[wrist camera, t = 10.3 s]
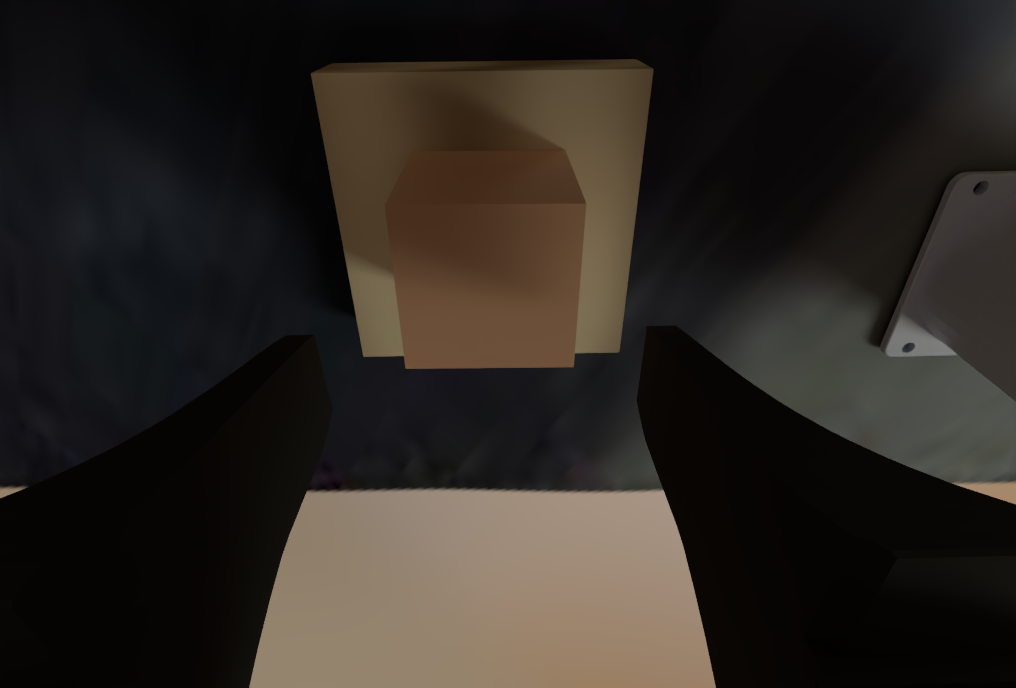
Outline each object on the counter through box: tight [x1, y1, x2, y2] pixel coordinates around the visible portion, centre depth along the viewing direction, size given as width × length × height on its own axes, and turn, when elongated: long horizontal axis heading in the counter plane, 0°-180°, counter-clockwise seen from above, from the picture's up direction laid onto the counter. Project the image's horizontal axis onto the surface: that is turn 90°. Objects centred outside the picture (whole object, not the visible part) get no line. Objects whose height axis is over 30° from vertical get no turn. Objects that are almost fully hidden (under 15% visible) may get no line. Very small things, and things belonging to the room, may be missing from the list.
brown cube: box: [385, 150, 586, 369], centre depth 16 cm, size 5×5×5 cm
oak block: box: [311, 59, 653, 357], centre depth 20 cm, size 10×10×3 cm
